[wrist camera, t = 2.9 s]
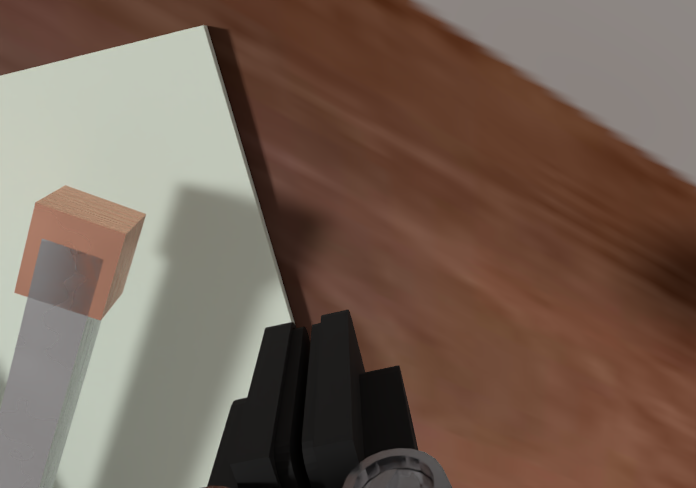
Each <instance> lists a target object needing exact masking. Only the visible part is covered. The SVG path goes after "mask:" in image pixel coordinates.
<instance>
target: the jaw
mask: <svg viewBox="0 0 696 488" xmlns="http://www.w3.org/2000/svg"><path fill="white" fill-rule="evenodd" d="M145 217H146V214H145V213H142V212H139V211H136V210H134V209H131V208H128V207H125V206H122V205H120V204H117V203H114V202H111V201H108V200H106V199H103V198H100V197H97V196H94V195H91V194H89V193H86V192H83V191H80V190H77V189H75V188H72V187H69V186H66V185H65V186H63V187H61V188H60V189H58V190H56V191H54V192H53V193H51V194H49V195H47V196H46V197H44V198H42V199H40V200H39V201H37V202H35V206H34V210H33V214H32V219H31V223H30V227H29V231H28V236H27V240H26V244H25V249H24V253H23V257H22V261H21V266H20V270H19V274H18V278H17V283H16V287H15V291H14V293H16V294H20V295H23V296H26V297H28V298H27V302H26V306H25V310H24V315H23V319H22V323H21V327H20V331H19V335H18V339H17V343H16V347H15V352H14V356H13V360H12V364H11V368H10V372H9V376H8V380H7V384H6V388H5V393H4V397H3V401H2V405H1V409H0V488H53V485H54V481H55V478H56V474H57V471H58V467H59V464H60V461H61V457H62V454H63V450H64V447H65V444H66V440H67V437H68V433H69V430H70V427H71V423H72V420H73V416H74V413H75V409H76V406H77V403H78V399H79V396H80V392H81V389H82V386H83V382H84V379H85V375H86V372H87V369H88V365H89V362H90V358H91V355H92V352H93V348H94V345H95V341H96V338H97V334H98V331H99V328H100V324H101V321H102V318H103V317H104V316H105V315H106V313H107V312H108V311H109V310H110V308H111V307H112V306H113V305H114V303H115V302H116V301H117V299H118V298H119V297H120V296H121V294H122V293H123V290H124V286H125V283H126V280H127V276H128V273H129V270H130V267H131V263H132V260H133V257H134V253H135V250H136V247H137V243H138V240H139V237H140V233H141V230H142V227H143V223H144V220H145Z"/></svg>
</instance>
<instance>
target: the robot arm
mask: <svg viewBox="0 0 696 488" xmlns="http://www.w3.org/2000/svg"><path fill="white" fill-rule="evenodd" d="M203 488H452V486H451V484H450V482H449V480H448V478H447V476H446V474H445V472H444V470H443V468H442V467H441V465H440V464H439V463H438V461H437V460H436V459H435V458H433V457H432V456H430V455H428V454H427V453H425V452H422V451H418V447H417V442H416V437H415V433H414V428H413V423H412V419H411V414H410V410H409V405H408V401H407V396H406V392H405V388H404V383H403V379H402V375H401V371H400V367H399V366H394V367H389V368H384V369H380V370H375V371H370V372H365V370H364V366H363V362H362V358H361V354H360V350H359V346H358V342H357V338H356V334H355V330H354V326H353V322H352V319H351V315H350V312H349V310H345V311H340V312H335V313H331V314H326V315H322V316H321V323H319V324H314V325H312V332H311V343H310V340H309V336H308V333H307V330H306V328H305V327H300V328H296V326H295V324H294V322H289V323H285V324H280V325H276V326H271V327H266V328H265V330H264V334H263V338H262V342H261V346H260V350H259V354H258V358H257V361H256V365H255V369H254V373H253V377H252V381H251V385H250V389H249V392H248V396H247V398H242V399H237V400H235V401H233V403H232V405H231V408H230V411H229V414H228V418H227V421H226V424H225V428H224V431H223V435H222V438H221V441H220V445H219V448H218V451H217V455H216V458H215V462H214V465H213V468H212V472H211V475H210V478H209V482H208V485H207V487H203Z"/></svg>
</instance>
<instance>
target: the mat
mask: <svg viewBox="0 0 696 488" xmlns="http://www.w3.org/2000/svg"><path fill="white" fill-rule="evenodd" d="M65 185H66V186H69V187H72V188H75V189H77V190H80V191H83V192H86V193H89V194H91V195H94V196H97V197H100V198H103V199H106V200H108V201H111V202H114V203H117V204H120V205H122V206H125V207H128V208H131V209H134V210H136V211H139V212H142V213H145V214H146V217H145V220H144V223H143V227H142V230H141V233H140V237H139V240H138V243H137V247H136V250H135V253H134V257H133V260H132V263H131V267H130V270H129V273H128V276H127V280H126V283H125V286H124V290H123V293H122V294H121V296H120V297H119V298H118V299H117V301H116V302H115V303H114V305H113V306H112V307H111V308H110V310H109V311H108V312H107V313H106V315H105V316H104V317H103V318H102V321H101V324H100V328H99V331H98V334H97V338H96V341H95V345H94V348H93V352H92V355H91V358H90V362H89V365H88V369H87V372H86V375H85V379H84V382H83V386H82V389H81V392H80V396H79V399H78V403H77V406H76V409H75V413H74V416H73V420H72V423H71V427H70V430H69V433H68V437H67V440H66V444H65V447H64V450H63V454H62V457H61V461H60V464H59V467H58V471H57V474H56V478H55V481H54V485H53V488H203V487H207V485H208V482H209V478H210V475H211V472H212V468H213V465H214V462H215V458H216V455H217V451H218V448H219V445H220V441H221V438H222V435H223V431H224V428H225V424H226V421H227V418H228V414H229V411H230V408H231V405H232V403H233V401H235V400H237V399H242V398H247V396H248V392H249V389H250V385H251V381H252V377H253V373H254V369H255V365H256V361H257V358H258V354H259V350H260V346H261V342H262V338H263V334H264V330H265V328H266V327H271V326H276V325H280V324H285V323H289V322H294V319H293V316H292V312H291V309H290V305H289V302H288V299H287V295H286V292H285V289H284V285H283V282H282V278H281V275H280V272H279V268H278V265H277V261H276V258H275V255H274V251H273V248H272V245H271V241H270V238H269V234H268V231H267V228H266V224H265V221H264V217H263V214H262V211H261V207H260V204H259V200H258V197H257V194H256V190H255V187H254V184H253V180H252V177H251V173H250V170H249V167H248V163H247V160H246V156H245V153H244V150H243V146H242V143H241V140H240V136H239V133H238V129H237V126H236V123H235V119H234V116H233V112H232V109H231V106H230V102H229V99H228V96H227V92H226V89H225V85H224V82H223V79H222V75H221V72H220V68H219V65H218V62H217V58H216V55H215V51H214V48H213V45H212V41H211V38H210V35H209V31H208V28H207V26H206V25H202V26H198V27H194V28H190V29H186V30H182V31H178V32H174V33H170V34H166V35H162V36H158V37H154V38H150V39H146V40H142V41H138V42H134V43H130V44H126V45H122V46H118V47H114V48H110V49H106V50H102V51H98V52H94V53H90V54H86V55H82V56H78V57H74V58H70V59H66V60H62V61H58V62H54V63H50V64H46V65H42V66H38V67H34V68H30V69H26V70H22V71H18V72H14V73H10V74H6V75H2V76H0V409H1V405H2V401H3V397H4V393H5V388H6V384H7V380H8V376H9V372H10V368H11V364H12V360H13V356H14V352H15V347H16V343H17V339H18V335H19V331H20V327H21V323H22V319H23V315H24V310H25V306H26V302H27V298H28V297H26V296H23V295H20V294H16V293H14V291H15V287H16V283H17V278H18V274H19V270H20V266H21V261H22V257H23V253H24V249H25V244H26V240H27V236H28V231H29V227H30V223H31V219H32V214H33V210H34V206H35V202H37V201H39V200H40V199H42V198H44V197H46V196H47V195H49V194H51V193H53V192H54V191H56V190H58V189H60V188H61V187H63V186H65ZM294 324H295V322H294Z"/></svg>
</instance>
